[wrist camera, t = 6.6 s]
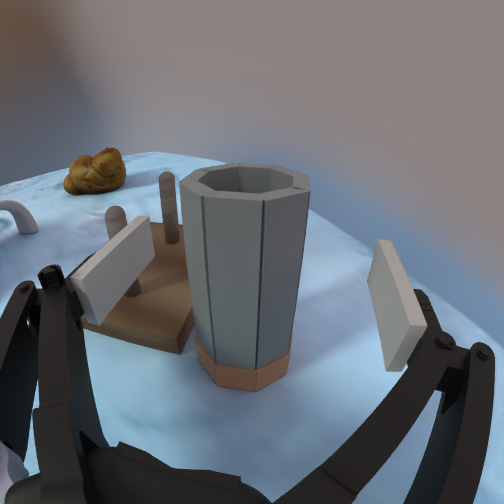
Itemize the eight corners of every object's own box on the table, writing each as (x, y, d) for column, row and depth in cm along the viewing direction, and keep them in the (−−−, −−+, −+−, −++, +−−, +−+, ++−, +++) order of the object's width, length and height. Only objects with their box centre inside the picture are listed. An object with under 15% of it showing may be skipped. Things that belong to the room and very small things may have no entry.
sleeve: (283, 395, 15) (314, 207, 9) (190, 379, 15) (158, 195, 10) (291, 329, 19) (311, 168, 14) (214, 319, 20) (205, 161, 14)
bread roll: (57, 202, 42) (50, 159, 38) (78, 185, 50) (72, 147, 46) (120, 194, 43) (115, 147, 39) (134, 178, 52) (130, 138, 48)
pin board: (179, 354, 17) (156, 239, 13) (66, 322, 18) (29, 226, 14) (232, 242, 30) (232, 163, 26) (146, 233, 31) (137, 163, 27)
